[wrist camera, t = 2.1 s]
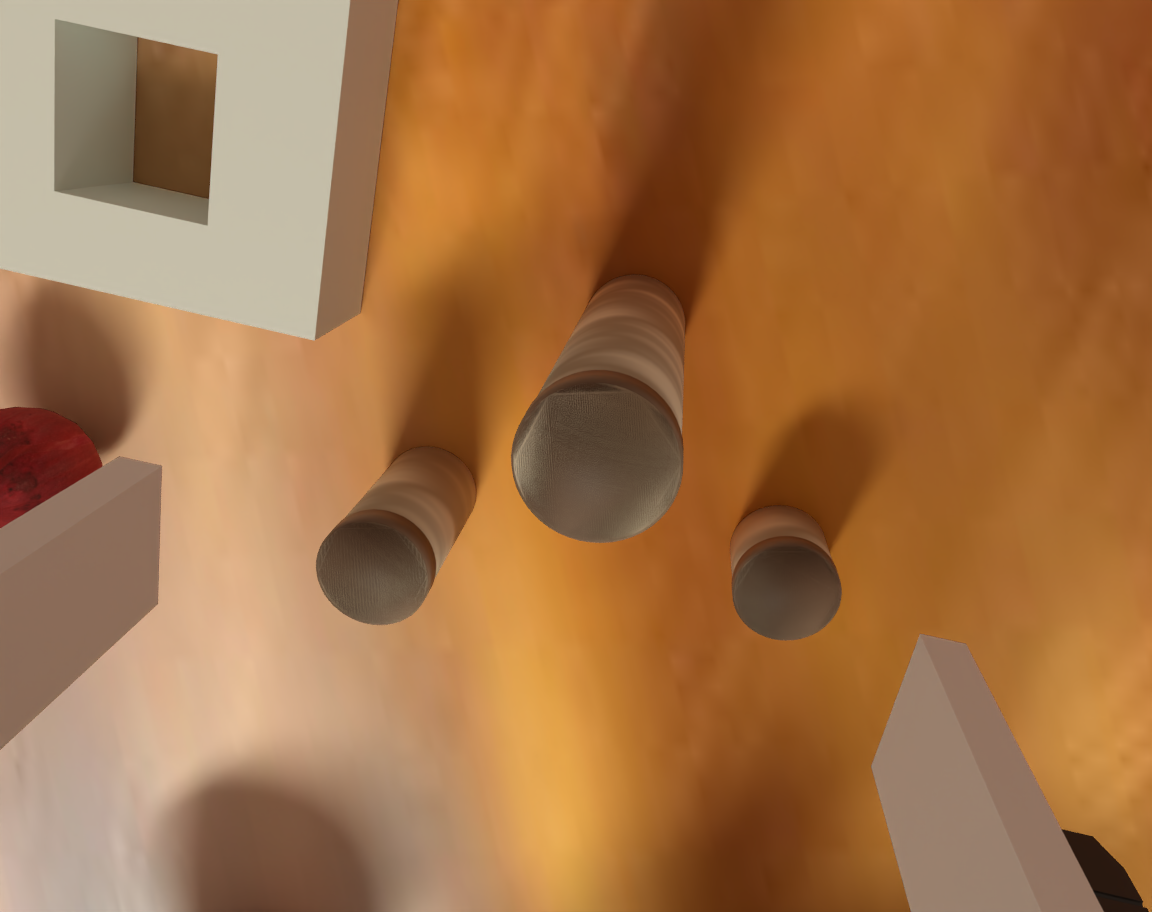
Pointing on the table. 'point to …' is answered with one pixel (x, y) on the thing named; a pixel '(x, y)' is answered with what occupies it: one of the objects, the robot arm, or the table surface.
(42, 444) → the onion
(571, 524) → the long dowel
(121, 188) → the hole block
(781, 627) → the short dowel
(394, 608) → the medium dowel
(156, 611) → the table surface
